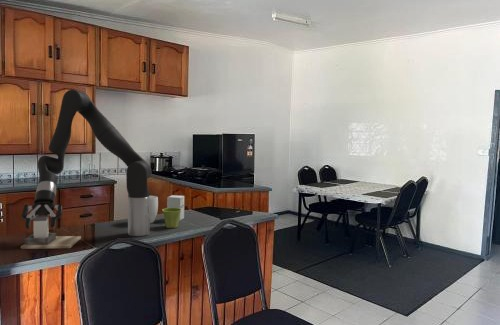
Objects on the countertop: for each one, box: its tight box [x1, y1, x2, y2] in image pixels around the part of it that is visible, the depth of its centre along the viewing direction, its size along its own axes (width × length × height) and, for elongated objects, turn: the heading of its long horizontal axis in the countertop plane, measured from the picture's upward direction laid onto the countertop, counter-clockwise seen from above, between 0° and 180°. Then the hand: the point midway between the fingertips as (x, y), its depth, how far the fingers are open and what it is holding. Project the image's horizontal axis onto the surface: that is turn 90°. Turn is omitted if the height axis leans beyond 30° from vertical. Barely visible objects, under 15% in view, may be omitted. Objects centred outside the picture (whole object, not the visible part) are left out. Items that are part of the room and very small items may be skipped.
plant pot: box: [161, 207, 182, 229], centre depth 187 cm, size 9×9×9 cm
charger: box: [32, 215, 50, 238], centre depth 152 cm, size 4×4×10 cm
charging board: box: [20, 232, 82, 250], centre depth 154 cm, size 18×14×4 cm
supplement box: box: [166, 194, 185, 222], centre depth 203 cm, size 7×7×13 cm
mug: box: [149, 195, 159, 224], centre depth 193 cm, size 15×11×13 cm
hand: (40, 227), depth 151 cm, fingers open, 8 cm apart
